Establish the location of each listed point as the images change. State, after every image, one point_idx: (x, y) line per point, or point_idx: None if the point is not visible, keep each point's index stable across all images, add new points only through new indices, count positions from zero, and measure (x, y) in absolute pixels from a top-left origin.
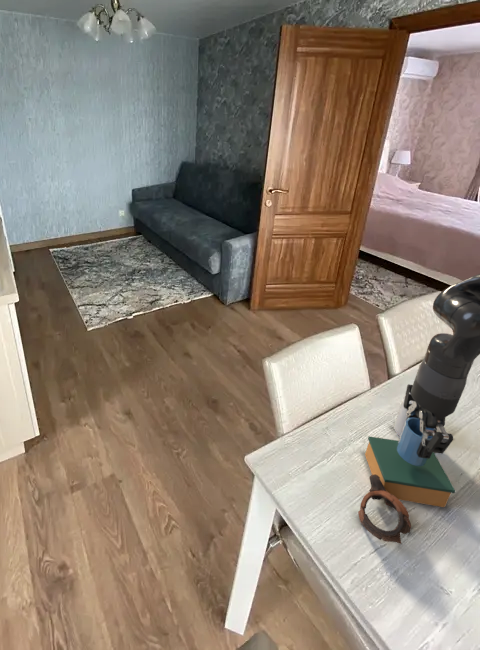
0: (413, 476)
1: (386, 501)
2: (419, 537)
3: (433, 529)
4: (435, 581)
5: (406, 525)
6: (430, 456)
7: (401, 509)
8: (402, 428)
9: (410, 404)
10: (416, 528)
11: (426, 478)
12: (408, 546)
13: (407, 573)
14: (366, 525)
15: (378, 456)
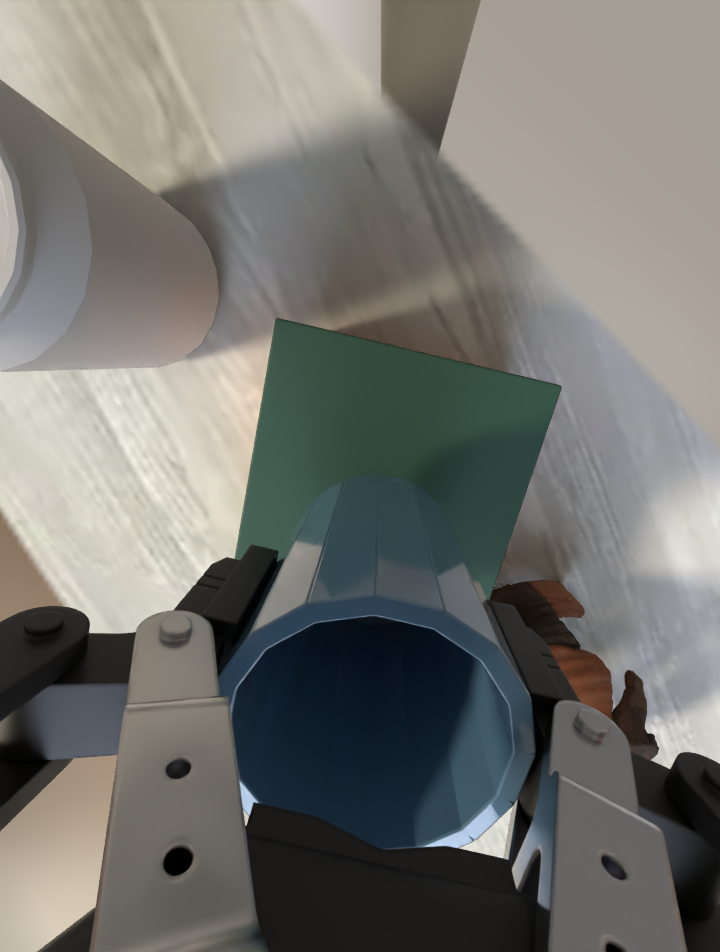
0: None
1: None
2: (587, 562)
3: (573, 493)
4: (710, 599)
5: (638, 704)
6: (553, 657)
7: None
8: (137, 365)
9: (12, 733)
10: (559, 553)
11: (477, 498)
12: (605, 617)
13: (670, 667)
14: None
15: None
